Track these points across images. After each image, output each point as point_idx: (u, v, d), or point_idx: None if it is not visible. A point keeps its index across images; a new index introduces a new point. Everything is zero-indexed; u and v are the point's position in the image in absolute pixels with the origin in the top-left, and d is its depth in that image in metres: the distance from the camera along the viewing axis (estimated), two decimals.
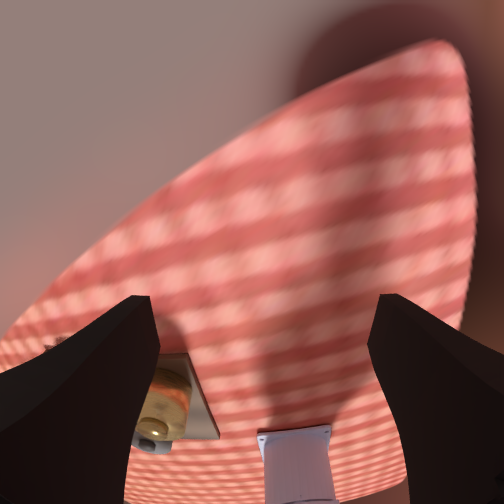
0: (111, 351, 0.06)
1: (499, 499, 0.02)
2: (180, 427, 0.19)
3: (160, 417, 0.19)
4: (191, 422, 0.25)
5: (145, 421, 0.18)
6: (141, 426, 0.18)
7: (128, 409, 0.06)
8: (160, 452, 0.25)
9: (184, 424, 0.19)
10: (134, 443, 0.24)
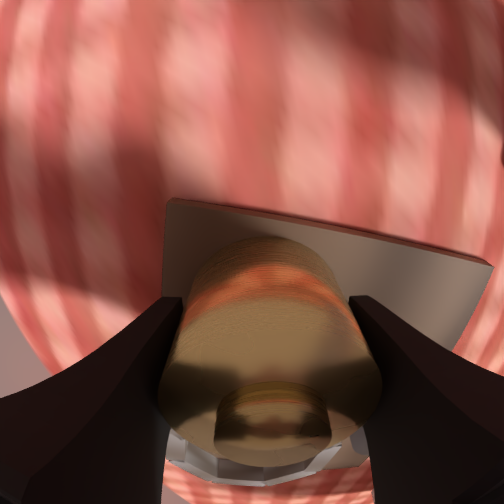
0: (150, 355, 0.06)
1: None
2: (304, 343, 0.05)
3: (219, 380, 0.05)
4: (417, 303, 0.10)
5: (214, 429, 0.05)
6: (224, 452, 0.05)
7: None
8: None
9: (306, 320, 0.05)
10: None
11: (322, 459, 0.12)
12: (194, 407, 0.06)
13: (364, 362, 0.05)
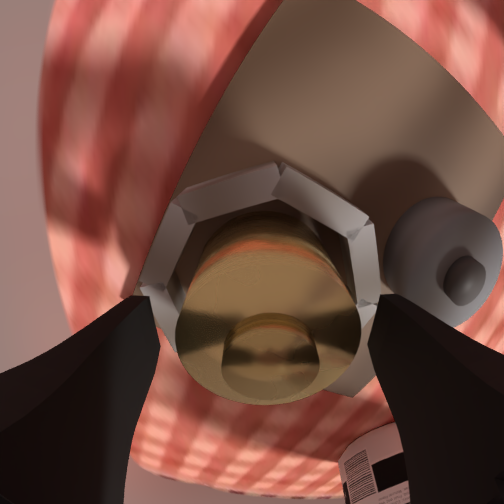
0: (110, 351, 0.06)
1: (499, 499, 0.02)
2: (298, 278, 0.07)
3: (230, 310, 0.07)
4: (468, 146, 0.09)
5: (222, 357, 0.07)
6: (229, 379, 0.07)
7: (128, 409, 0.06)
8: (492, 282, 0.09)
9: (300, 261, 0.07)
10: (439, 317, 0.10)
11: None
12: (205, 339, 0.07)
13: (345, 301, 0.07)
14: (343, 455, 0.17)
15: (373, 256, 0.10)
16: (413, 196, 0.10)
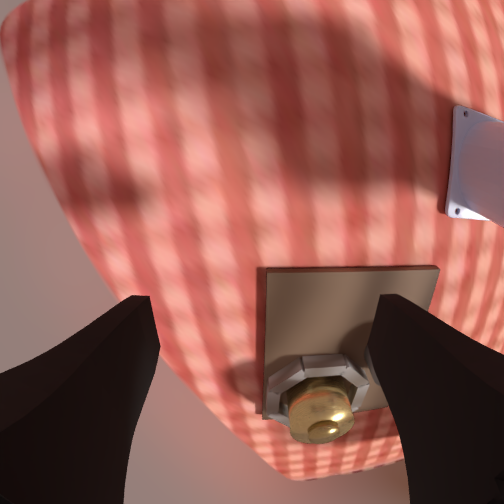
0: (111, 351, 0.06)
1: (499, 499, 0.02)
2: (321, 413, 0.18)
3: (305, 425, 0.19)
4: None
5: (308, 436, 0.19)
6: (313, 442, 0.19)
7: (128, 409, 0.06)
8: None
9: (320, 408, 0.18)
10: None
11: (360, 396, 0.22)
12: (301, 433, 0.19)
13: (340, 411, 0.18)
14: None
15: (355, 373, 0.21)
16: (369, 335, 0.21)
